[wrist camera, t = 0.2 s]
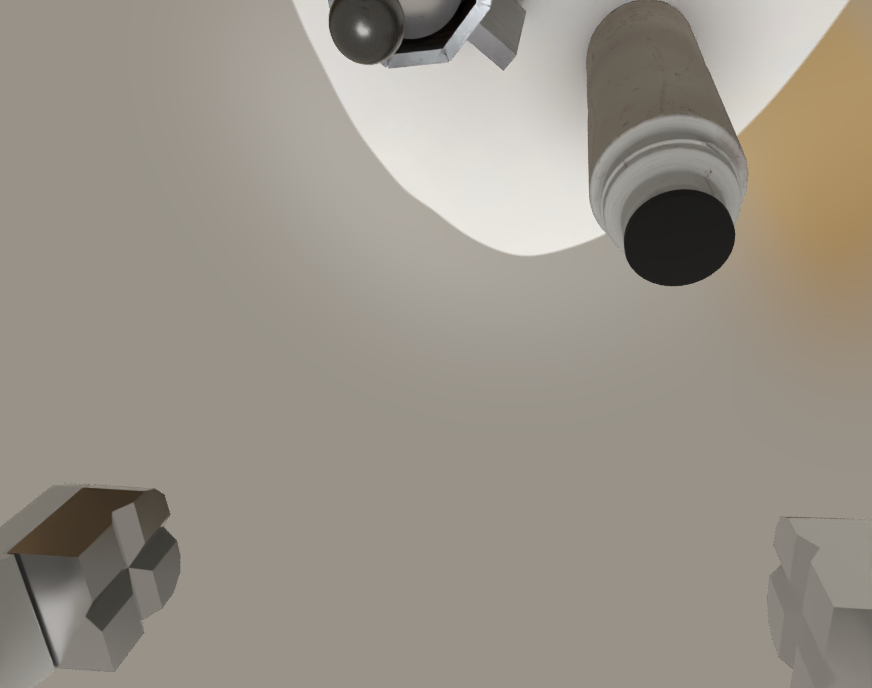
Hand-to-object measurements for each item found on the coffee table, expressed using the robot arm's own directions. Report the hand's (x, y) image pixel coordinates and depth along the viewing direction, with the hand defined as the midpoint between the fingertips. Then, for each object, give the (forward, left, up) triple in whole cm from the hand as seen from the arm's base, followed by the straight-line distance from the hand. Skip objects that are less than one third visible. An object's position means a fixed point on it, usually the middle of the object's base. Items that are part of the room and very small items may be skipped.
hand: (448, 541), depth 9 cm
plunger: (+6, -6, -39) cm, 39 cm away
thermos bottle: (+3, +11, -51) cm, 53 cm away
